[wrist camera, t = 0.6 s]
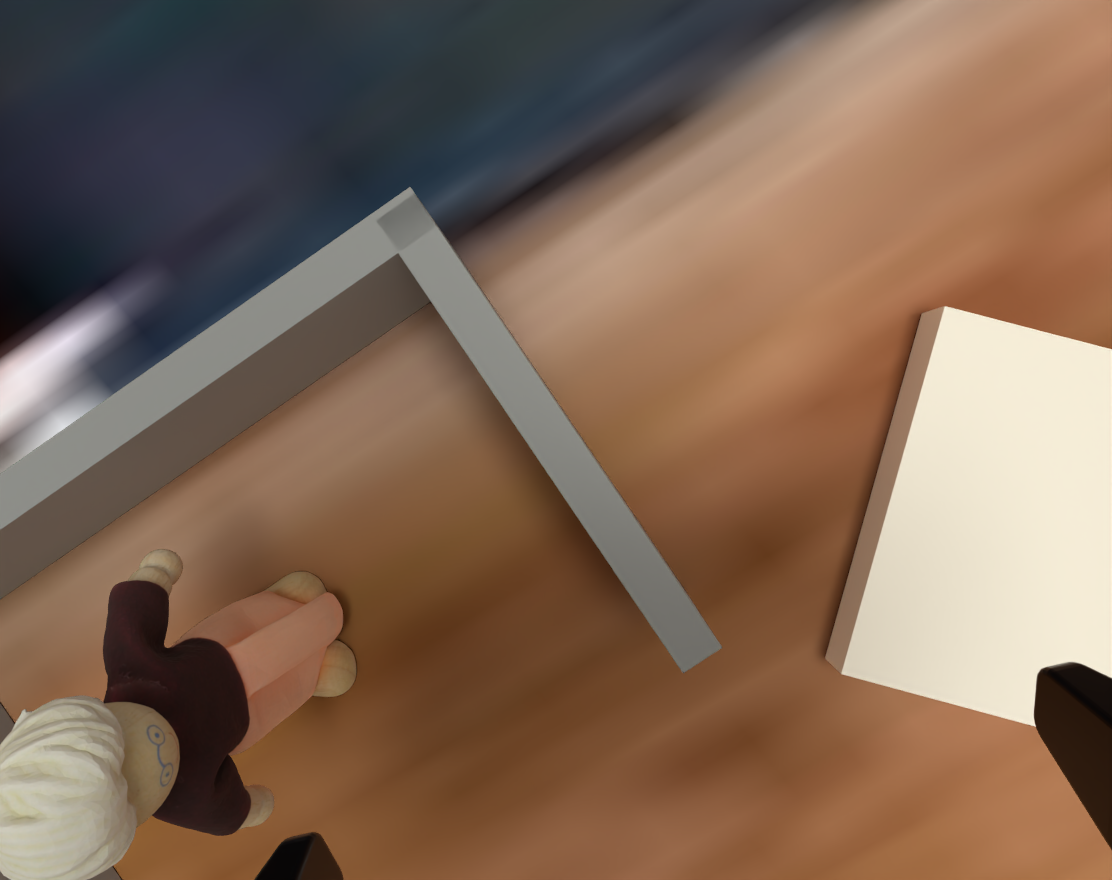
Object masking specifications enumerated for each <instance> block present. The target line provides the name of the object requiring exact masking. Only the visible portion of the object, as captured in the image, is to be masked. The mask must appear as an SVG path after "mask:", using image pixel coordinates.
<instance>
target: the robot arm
mask: <svg viewBox="0 0 1112 880" xmlns="http://www.w3.org/2000/svg"><path fill="white" fill-rule="evenodd" d="M1034 721H1035V725H1036V728H1037V731H1038V733H1039V735H1040V737H1041V738H1042V740H1043V742H1044V743H1045V745H1046V746H1047V748H1048V750H1049V751H1050V753H1051V754H1052V756H1053V758H1054V759H1055V761H1056V762H1057V764H1058V766H1059V767H1060V769H1061V770H1062V772H1063V774H1064V775H1065V777H1066V778H1067V780H1068V781H1069V783H1070V785H1071V786H1072V788H1073V789H1074V791H1075V793H1076V794H1077V796H1078V797H1079V799H1080V801H1081V802H1082V804H1083V805H1084V807H1085V809H1086V810H1087V812H1088V813H1089V815H1090V817H1091V818H1092V820H1093V821H1094V823H1095V824H1096V826H1097V828H1098V829H1099V831H1100V832H1101V834H1102V836H1103V837H1104V839H1105V840H1106V842H1107V843H1108V845H1109V846H1110V848H1111V850H1112V678H1111V677H1109V676H1107V675H1104V674H1102V673H1100V672H1098V671H1096V670H1094V669H1092V668H1090V667H1088V666H1086V665H1083V664H1080V663H1077V662H1065V663H1061V664H1057V665H1052V666H1048V667H1044V668H1042V669H1041V670H1040V671H1039V672H1038V674H1037V679H1036V691H1035V704H1034ZM254 880H343V875H342V872H341V870H340V868H339V866H338V864H337V862H336V861H335V859H334V857H333V855H332V853H331V852H330V850H329V848H328V846H327V845H326V843H325V841H324V839H323V838H322V836H321V835H320V834H318V833H316V832H310V833H306V834H302V835H297V836H293V837H289V838H287V839H285V840H284V841H283V842H282V843H281V844H280V845H279V846H278V847H277V849H276V850H275V852H274V853H273V854H272V856H271V857H270V859H269V860H268V861H267V863H266V864H265V866H264V867H263V868H262V870H261V871H260V872H259V874H258V875H257V877H256V878H255V879H254Z"/></svg>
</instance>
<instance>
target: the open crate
mask: <svg viewBox="0 0 1112 880" xmlns="http://www.w3.org/2000/svg"><path fill="white" fill-rule="evenodd" d="M429 302H432V304H433V305H434V307H435V308H436V310H437V311H438V313H439V314H440V316H441V317H442V318H443V320H444V321H445V323H446V324H447V326H448V327H449V329H450V330H451V332H452V333H453V335H454V336H455V338H456V339H457V341H458V342H459V344H460V345H461V346H462V348H463V349H464V351H465V352H466V354H467V355H468V357H469V358H470V360H471V361H472V363H473V364H474V366H475V367H476V369H477V370H478V372H479V373H480V374H481V376H482V377H483V379H484V380H485V382H486V383H487V385H488V386H489V388H490V389H491V391H492V392H493V394H494V395H495V397H496V398H497V400H498V401H499V402H500V404H501V405H502V407H503V408H504V410H505V411H506V413H507V414H508V416H509V417H510V419H511V420H512V422H513V423H514V425H515V426H516V428H517V429H518V431H519V432H520V433H521V435H522V436H523V438H524V439H525V441H526V442H527V444H528V445H529V447H530V448H531V450H532V451H533V453H534V454H535V456H536V457H537V459H538V460H539V461H540V463H541V464H542V466H543V467H544V469H545V470H546V472H547V473H548V475H549V476H550V478H551V479H552V481H553V482H554V484H555V485H556V487H557V488H558V489H559V491H560V492H561V494H562V495H563V497H564V498H565V500H566V501H567V503H568V504H569V506H570V507H571V509H572V510H573V512H574V513H575V515H576V516H577V517H578V519H579V520H580V522H581V523H582V525H583V526H584V528H585V529H586V531H587V532H588V534H589V535H590V537H591V538H592V540H593V541H594V543H595V544H596V546H597V547H598V548H599V550H600V551H601V553H602V554H603V556H604V557H605V559H606V560H607V562H608V563H609V565H610V566H611V568H612V569H613V571H614V572H615V574H616V575H617V576H618V578H619V579H620V581H621V582H622V584H623V585H624V587H625V588H626V590H627V591H628V593H629V594H630V596H631V597H632V599H633V600H634V602H635V603H636V604H637V606H638V607H639V609H640V610H641V612H642V613H643V615H644V616H645V618H646V619H647V621H648V622H649V624H650V625H651V627H652V628H653V630H654V631H655V633H656V634H657V635H658V637H659V638H660V640H661V641H662V643H663V644H664V646H665V647H666V649H667V650H668V652H669V653H670V655H671V656H672V658H673V659H674V661H675V662H676V663H677V665H678V666H679V668H680V669H681V671H682V672H683V673H684V672H686V671H687V670H689V669H691V668H692V667H694V666H695V665H697V664H698V663H700V662H701V661H703V660H704V659H706V658H707V657H709V656H710V655H712V654H713V653H715V652H716V651H718V650H719V649H721V648H722V646H721V645H720V643H719V642H718V640H717V639H716V637H715V636H714V634H713V632H712V631H711V629H710V628H709V626H708V625H707V623H706V622H705V620H704V619H703V617H702V615H701V614H700V612H699V611H698V609H697V608H696V606H695V605H694V603H693V602H692V600H691V598H690V597H689V595H688V594H687V592H686V591H685V589H684V588H683V586H682V585H681V583H680V582H679V580H678V579H677V578H676V576H675V575H674V573H673V572H672V570H671V569H670V567H669V566H668V564H667V563H666V561H665V560H664V558H663V557H662V555H661V554H660V552H659V551H658V549H657V548H656V547H655V545H654V544H653V542H652V541H651V539H650V538H649V536H648V535H647V533H646V532H645V530H644V529H643V527H642V526H641V524H640V523H639V521H638V520H637V518H636V517H635V516H634V514H633V513H632V511H631V510H630V508H629V507H628V505H627V504H626V502H625V501H624V499H623V498H622V496H621V495H620V493H619V492H618V490H617V489H616V488H615V486H614V485H613V483H612V482H611V480H610V479H609V477H608V476H607V474H606V473H605V471H604V470H603V468H602V467H601V465H600V464H599V462H598V461H597V459H596V458H595V457H594V455H593V454H592V452H591V451H590V449H589V448H588V446H587V445H586V443H585V442H584V440H583V439H582V437H581V436H580V434H579V433H578V431H577V430H576V428H575V427H574V426H573V424H572V423H571V421H570V420H569V418H568V417H567V415H566V414H565V412H564V411H563V409H562V408H561V406H560V405H559V403H558V402H557V400H556V399H555V397H554V396H553V395H552V393H551V392H550V390H549V389H548V387H547V386H546V384H545V383H544V381H543V380H542V378H541V377H540V375H539V374H538V372H537V371H536V369H535V368H534V366H533V365H532V364H531V362H530V361H529V359H528V358H527V356H526V355H525V353H524V352H523V350H522V349H521V347H520V346H519V344H518V343H517V341H516V340H515V338H514V337H513V335H512V334H511V333H510V331H509V330H508V328H507V327H506V325H505V324H504V322H503V321H502V319H501V318H500V316H499V315H498V313H497V312H496V310H495V309H494V307H493V306H492V304H491V303H490V302H489V300H488V299H487V297H486V296H485V294H484V293H483V291H482V290H481V288H480V287H479V285H478V284H477V282H476V281H475V279H474V278H473V276H472V275H471V274H470V272H469V271H468V269H467V268H466V266H465V265H464V263H463V262H462V260H461V259H460V257H459V256H458V254H457V253H456V251H455V250H454V248H453V247H452V245H451V244H450V243H449V241H448V240H447V238H446V237H445V236H444V234H443V233H442V231H441V230H440V228H439V227H438V226H437V224H436V223H435V221H434V220H433V219H432V217H431V216H430V214H429V213H428V211H427V210H426V209H425V207H424V206H423V204H422V203H421V202H420V200H419V199H418V197H417V196H416V195H415V193H414V192H413V190H412V189H411V187H409V188H408V189H407V190H405V191H404V192H402V193H401V194H399V195H398V196H396V197H395V198H394V199H392V200H391V201H389V202H388V203H386V204H385V205H384V206H382V207H381V208H379V209H378V210H376V211H375V212H374V213H372V214H371V215H369V216H368V217H366V218H365V219H364V220H362V221H361V222H359V223H358V224H356V225H355V226H354V227H352V228H351V229H349V230H348V231H346V232H345V233H344V234H342V235H341V236H339V237H338V238H336V239H335V240H334V241H332V242H331V243H329V244H328V245H326V246H325V247H324V248H322V249H321V250H319V251H318V252H316V253H315V254H314V255H312V256H311V257H309V258H308V259H306V260H305V261H304V262H302V263H301V264H299V265H298V266H296V267H295V268H294V269H292V270H291V271H289V272H288V273H286V274H285V275H284V276H282V277H281V278H279V279H278V280H276V281H275V282H274V283H272V284H271V285H269V286H268V287H266V288H265V289H264V290H262V291H261V292H259V293H258V294H256V295H255V296H254V297H252V298H251V299H249V300H248V301H246V302H245V303H244V304H242V305H241V306H239V307H238V308H236V309H235V310H234V311H232V312H231V313H229V314H228V315H226V316H225V317H224V318H222V319H221V320H219V321H218V322H216V323H215V324H214V325H212V326H211V327H209V328H208V329H206V330H205V331H204V332H202V333H201V334H199V335H198V336H196V337H195V338H194V339H192V340H191V341H189V342H188V343H186V344H185V345H184V346H182V347H181V348H179V349H178V350H176V351H175V352H174V353H172V354H171V355H169V356H168V357H166V358H165V359H164V360H162V361H161V362H159V363H158V364H156V365H155V366H154V367H152V368H151V369H149V370H148V371H146V372H145V373H143V374H142V375H141V376H139V377H138V378H136V379H135V380H133V381H132V382H131V383H129V384H128V385H126V386H125V387H123V388H122V389H121V390H119V391H118V392H116V393H115V394H113V395H112V396H111V397H109V398H108V399H106V400H105V401H103V402H102V403H101V404H99V405H98V406H96V407H95V408H93V409H92V410H91V411H89V412H88V413H86V414H85V415H83V416H82V417H81V418H79V419H78V420H76V421H75V422H73V423H72V424H71V425H69V426H68V427H66V428H65V429H63V430H62V431H61V432H59V433H58V434H56V435H55V436H53V437H52V438H51V439H49V440H48V441H46V442H45V443H43V444H42V445H41V446H39V447H38V448H36V449H35V450H33V451H32V452H31V453H29V454H28V455H26V456H25V457H23V458H22V459H21V460H19V461H18V462H16V463H15V464H13V465H12V466H11V467H9V468H8V469H6V470H5V471H3V472H2V473H1V474H0V599H1V598H3V597H4V596H6V595H7V594H9V593H10V592H11V591H13V590H14V589H16V588H17V587H19V586H20V585H22V584H23V583H24V582H26V581H27V580H29V579H30V578H32V577H33V576H35V575H36V574H37V573H39V572H40V571H42V570H43V569H45V568H46V567H48V566H49V565H50V564H52V563H53V562H55V561H56V560H58V559H59V558H61V557H62V556H63V555H65V554H66V553H68V552H69V551H71V550H72V549H74V548H75V547H77V546H78V545H79V544H81V543H82V542H84V541H85V540H87V539H88V538H90V537H91V536H92V535H94V534H95V533H97V532H98V531H100V530H101V529H103V528H104V527H105V526H107V525H108V524H110V523H111V522H113V521H114V520H116V519H117V518H118V517H120V516H121V515H123V514H124V513H126V512H127V511H129V510H130V509H131V508H133V507H134V506H136V505H137V504H139V503H140V502H142V501H143V500H144V499H146V498H147V497H149V496H150V495H152V494H153V493H155V492H156V491H157V490H159V489H160V488H162V487H163V486H165V485H166V484H168V483H169V482H171V481H172V480H173V479H175V478H176V477H178V476H179V475H181V474H182V473H184V472H185V471H186V470H188V469H189V468H191V467H192V466H194V465H195V464H197V463H198V462H199V461H201V460H202V459H204V458H205V457H207V456H208V455H210V454H211V453H212V452H214V451H215V450H217V449H218V448H220V447H221V446H223V445H224V444H225V443H227V442H228V441H230V440H231V439H233V438H234V437H236V436H237V435H238V434H240V433H241V432H243V431H244V430H246V429H247V428H249V427H250V426H251V425H253V424H254V423H256V422H257V421H259V420H260V419H262V418H263V417H265V416H266V415H267V414H269V413H270V412H272V411H273V410H275V409H276V408H278V407H279V406H280V405H282V404H283V403H285V402H286V401H288V400H289V399H291V398H292V397H293V396H295V395H296V394H298V393H299V392H301V391H302V390H304V389H305V388H306V387H308V386H309V385H311V384H312V383H314V382H315V381H317V380H318V379H319V378H321V377H322V376H324V375H325V374H327V373H328V372H330V371H331V370H332V369H334V368H335V367H337V366H338V365H340V364H341V363H343V362H344V361H345V360H347V359H348V358H350V357H351V356H353V355H354V354H356V353H357V352H359V351H360V350H361V349H363V348H364V347H366V346H367V345H369V344H370V343H372V342H373V341H374V340H376V339H377V338H379V337H380V336H382V335H383V334H385V333H386V332H387V331H389V330H390V329H392V328H393V327H395V326H396V325H398V324H399V323H400V322H402V321H403V320H405V319H406V318H408V317H409V316H411V315H412V314H413V313H415V312H416V311H418V310H419V309H421V308H422V307H424V306H425V305H426V304H428V303H429ZM14 725H15V724H14V723H13V721H12V720H11V718H10V717H9V715H8V714H7V712H6V711H5V709H4V708H3V707H2V705H1V704H0V744H1V743H2V741H3V740H4V739H5V738H6V737H7V735H8V734H9V733H10V732H11V731H12V729H13V727H14ZM0 880H11V879H9V878H7V877H5V876H4V875H3V874H2V873H1V871H0ZM87 880H121V878H120V877H119V876H118V874H117V873H116V871H115V870H114V868H113V867H112V866H111V867H110V868H108V869H107V870H105V871H104V872H102V873H100V874H98V875H96V876H94V877H92V878H90V879H87Z"/></svg>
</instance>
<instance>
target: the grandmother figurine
mask: <svg viewBox="0 0 1112 880" xmlns="http://www.w3.org/2000/svg"><path fill="white" fill-rule="evenodd" d="M182 569H183V563H182V560H181V558H180V557H179V556H178V555H177V554H176V553H175V552H173V551H170V550H166V549H159V550H154V551H152V552H150V553H149V554H147V555H146V556H145V558H144V559H143V560H142V562H141V564H140V566H139V570H137V571H136V572H135V573H133V574H132V576H131V577H130V578H129V580H128V581H125V582H121V583H119V584H117V585H115V586H114V587H113V589H112V590H111V593H110V597H109V604H108V616H107V623H106V630H105V635H104V644H103V656H104V663H105V669H106V672H107V675H108V684H107V691H106V695H105V699H104V703H103V702H102V701H101V700H100V699H99V698H92V697H89V696H73V697H67V698H61V699H55V700H52V701H51V702H49V703H46V704H44V705H43V706H41V707H39V708H38V709H36V710H35V711H33V712H27V711H26V709H25V710H23V711H22V713H21V715H20V717H19V718H18V720H17V722H16V723H15V725H14V727H13V729H12V731H11V732H10V733H9V734H8V735H7V737H6V738H5V739H4V740H3V741H2V743H1V744H0V871H1V873H2V874H3V875H4V876H5V877H7V878H9V879H11V880H87V879H90V878H92V877H94V876H96V875H98V874H100V873H102V872H104V871H105V870H107V869H108V868H110V867H111V866H113V865H114V864H116V863H117V862H118V861H120V860H121V859H122V857H123V856H124V854H125V853H126V851H127V850H128V848H129V846H130V844H131V842H132V841H133V839H134V835H135V830H136V828H137V827H138V826H139V825H141V824H142V823H144V822H145V821H146V820H147V819H148V818H149V817H150V816H151V815H152V816H154V817H155V818H157V819H160V820H162V821H165V822H168V823H171V824H174V825H178V826H181V827H185V828H188V829H193V830H197V831H200V832H204V833H209V834H212V835H216V836H224V835H229V834H232V833H234V832H236V831H237V830H238V829H242V828H245V827H247V826H248V827H252V826H257V825H259V824H261V823H263V822H264V821H265V820H267V818H268V817H269V816H270V814H271V813H272V811H273V808H274V796H273V794H272V792H271V790H270V789H269V788H267V787H265V786H263V785H250V786H244V785H243V782H242V780H241V778H240V775H239V774H238V770H237V768H236V765H235V763H234V762H233V760H232V758H231V757H230V756H231V755H235V754H239V753H242V752H244V751H245V750H247V749H248V748H249V747H251V746H252V745H254V744H255V743H257V742H258V741H259V740H260V739H262V738H263V737H264V736H265V735H266V734H268V733H269V732H270V731H271V730H272V729H273V728H275V727H276V726H277V725H278V724H279V723H281V722H282V721H283V720H284V719H286V718H287V717H288V716H290V715H291V714H292V713H293V712H295V711H296V710H297V709H298V708H299V707H300V706H302V705H303V704H304V703H305V702H306V701H307V700H308V699H309V698H310V697H311V696H321V697H335V696H338V695H341V694H343V693H345V692H346V691H348V690H349V689H350V687H351V686H352V685H353V683H354V681H355V678H356V661H355V657H354V655H353V652H352V651H351V650H350V649H349V648H348V647H347V646H346V645H345V644H344V643H342V642H340V641H337V640H335V638H336V637H337V636H338V635H339V633H340V631H341V629H342V626H343V611H342V607H341V605H340V603H339V601H338V600H337V599H336V597H335V596H334V595H333V594H331V593H328V592H326V589H325V587H324V585H323V583H322V582H321V580H320V579H319V578H318V577H316V576H315V575H313V574H311V573H309V572H305V571H298V572H293V573H291V574H288V575H287V576H285V577H283V578H282V579H280V580H279V581H277V582H276V583H275V584H273V585H272V586H270V587H269V588H268V589H266V590H265V591H263V592H260V593H258V594H255V595H252V596H250V597H247V598H244V599H242V600H239V601H236V602H234V603H232V604H229V605H228V606H226V607H224V608H223V609H221V610H219V611H218V612H216V613H214V614H213V615H211V616H209V617H207V618H206V619H204V620H203V621H201V622H200V623H199V624H197V625H196V626H194V627H193V628H192V629H190V630H189V631H188V632H186V633H185V634H184V635H183V636H182V637H181V638H180V639H179V640H178V641H177V642H176V643H175V644H174V645H173V646H172V647H171V648H166V647H165V646H164V640H165V636H166V631H167V626H168V617H169V595H170V593H171V590H172V585H173V584H175V583H176V581H177V580H178V579H179V577H180V575H181V573H182Z"/></svg>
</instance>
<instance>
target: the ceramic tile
mask: <svg viewBox="0 0 1112 880" xmlns="http://www.w3.org/2000/svg"><path fill="white" fill-rule="evenodd" d="M825 659H826V660H827V661H828V662H829V663H830V664H831V665H832V666H833V667H834V668H835V669H837V670H838V671H839V672H840V673H841V674H843V675H847V676H850V677H854V678H858V679H862V680H865V681H869V682H873V683H876V684H880V685H884V686H887V687H891V688H895V689H899V690H902V691H906V692H910V693H913V694H917V695H921V696H925V697H928V698H932V699H936V700H939V701H943V702H947V703H950V704H954V705H958V706H962V707H965V708H969V709H973V710H976V711H980V712H984V713H987V714H991V715H995V716H999V717H1002V718H1006V719H1010V720H1013V721H1017V722H1021V723H1024V724H1028V725H1032V726H1036V725H1035V721H1034V704H1035V691H1036V679H1037V674H1038V672H1039V671H1040V670H1041V669H1042V668H1044V667H1048V666H1052V665H1057V664H1061V663H1065V662H1077V663H1080V664H1083V665H1086V666H1088V667H1090V668H1092V669H1094V670H1096V671H1098V672H1100V673H1102V674H1104V675H1107V676H1109V677H1111V678H1112V349H1108V348H1104V347H1100V346H1096V345H1092V344H1089V343H1085V342H1081V341H1077V340H1073V339H1069V338H1065V337H1062V336H1058V335H1054V334H1050V333H1046V332H1042V331H1038V330H1035V329H1031V328H1027V327H1023V326H1019V325H1015V324H1011V323H1008V322H1004V321H1000V320H996V319H992V318H988V317H984V316H981V315H977V314H973V313H969V312H965V311H961V310H958V309H954V308H950V307H946V306H944V307H941V308H937V309H934V310H931V311H928V312H925V313H922V314H921V318H920V322H919V325H918V329H917V332H916V336H915V339H914V343H913V346H912V350H911V354H910V357H909V361H908V364H907V368H906V371H905V375H904V379H903V382H902V386H901V389H900V393H899V396H898V400H897V403H896V407H895V411H894V414H893V418H892V421H891V425H890V428H889V432H888V436H887V439H886V443H885V446H884V450H883V453H882V457H881V460H880V464H879V468H878V471H877V475H876V478H875V482H874V485H873V489H872V493H871V496H870V500H869V503H868V507H867V510H866V514H865V517H864V521H863V525H862V528H861V532H860V535H859V539H858V542H857V546H856V550H855V553H854V557H853V560H852V564H851V567H850V571H849V574H848V578H847V582H846V585H845V589H844V592H843V596H842V599H841V603H840V607H839V610H838V614H837V617H836V621H835V624H834V628H833V631H832V635H831V639H830V642H829V646H828V649H827V653H826V656H825Z"/></svg>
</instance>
